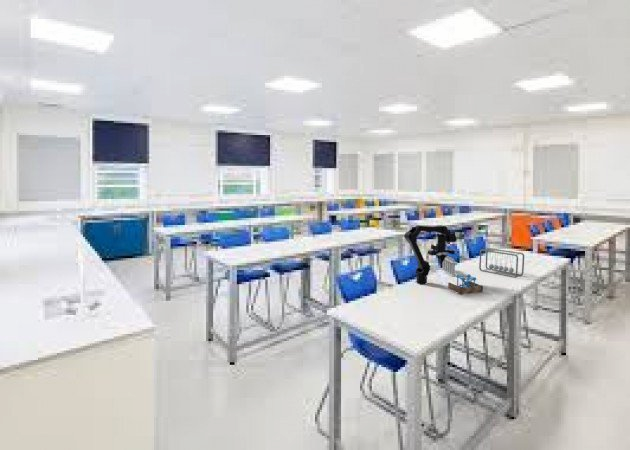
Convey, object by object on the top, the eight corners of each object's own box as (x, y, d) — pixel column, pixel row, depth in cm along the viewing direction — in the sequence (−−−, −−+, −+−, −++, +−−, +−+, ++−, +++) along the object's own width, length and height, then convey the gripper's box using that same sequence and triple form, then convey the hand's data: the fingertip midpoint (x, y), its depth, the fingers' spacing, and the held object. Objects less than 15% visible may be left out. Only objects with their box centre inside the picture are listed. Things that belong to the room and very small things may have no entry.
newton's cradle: (523, 276, 284) (524, 253, 282) (516, 278, 278) (517, 254, 276) (485, 268, 308) (486, 247, 306) (478, 270, 302) (479, 249, 300)
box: (461, 294, 241) (461, 288, 241) (448, 288, 255) (448, 282, 255) (482, 292, 246) (483, 286, 245) (468, 286, 259) (468, 280, 259)
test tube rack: (457, 276, 285) (458, 259, 283) (451, 277, 285) (452, 259, 283) (444, 269, 310) (445, 253, 308) (439, 269, 310) (440, 253, 308)
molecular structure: (469, 288, 256) (469, 273, 254) (476, 292, 246) (477, 277, 244) (455, 288, 255) (455, 274, 254) (461, 292, 245) (462, 277, 244)
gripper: (447, 240, 279) (446, 261, 281) (424, 241, 275) (423, 262, 277) (455, 243, 268) (454, 264, 270) (431, 244, 264) (431, 265, 266)
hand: (440, 264), depth 271 cm, fingers closed
